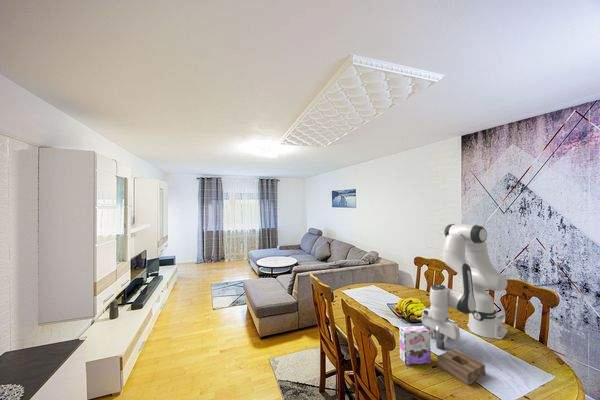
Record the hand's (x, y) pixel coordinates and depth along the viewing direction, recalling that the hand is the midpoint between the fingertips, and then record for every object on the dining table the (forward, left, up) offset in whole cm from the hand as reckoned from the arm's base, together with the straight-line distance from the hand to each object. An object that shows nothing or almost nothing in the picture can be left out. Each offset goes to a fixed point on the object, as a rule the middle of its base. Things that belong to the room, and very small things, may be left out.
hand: (440, 339), depth 131 cm
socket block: (+9, +16, -5) cm, 19 cm away
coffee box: (-9, -10, -5) cm, 14 cm away
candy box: (+22, +1, -5) cm, 23 cm away
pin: (0, 0, -5) cm, 5 cm away
